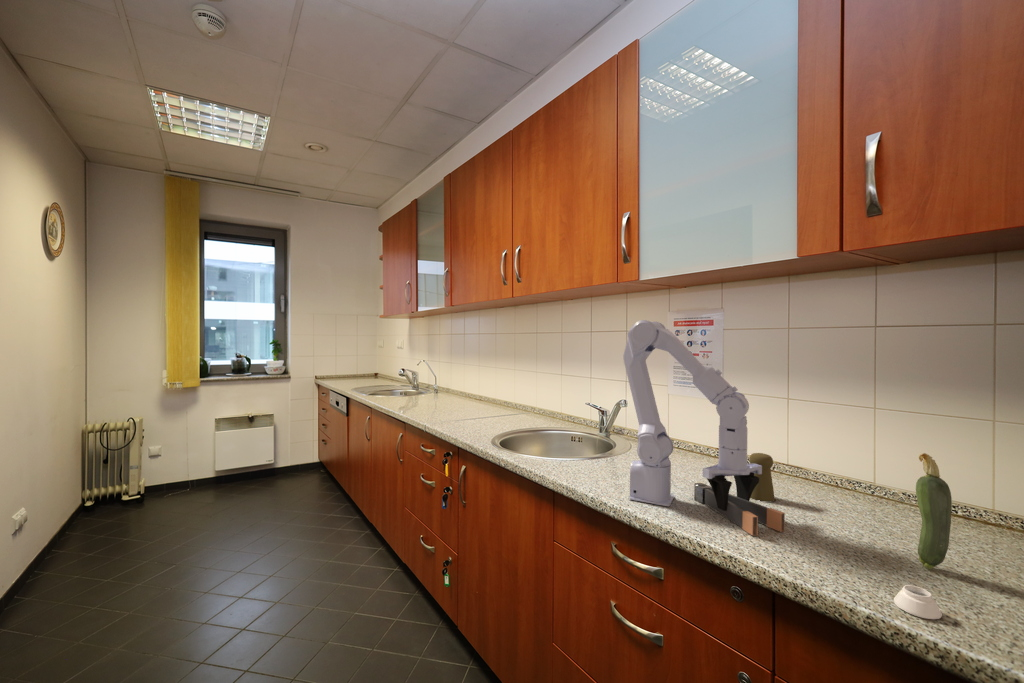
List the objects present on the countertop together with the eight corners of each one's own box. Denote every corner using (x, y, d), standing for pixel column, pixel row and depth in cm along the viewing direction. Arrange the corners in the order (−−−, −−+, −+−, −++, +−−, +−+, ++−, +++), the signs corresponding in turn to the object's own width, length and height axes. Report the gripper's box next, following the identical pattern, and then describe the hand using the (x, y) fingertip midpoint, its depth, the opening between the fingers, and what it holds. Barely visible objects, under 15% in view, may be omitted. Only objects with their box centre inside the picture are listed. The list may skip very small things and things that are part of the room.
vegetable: (949, 570, 74) (950, 453, 74) (952, 580, 71) (953, 458, 71) (914, 561, 77) (915, 449, 77) (915, 570, 74) (916, 453, 74)
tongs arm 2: (710, 503, 104) (710, 488, 104) (713, 503, 104) (713, 487, 104) (780, 531, 89) (781, 513, 89) (784, 530, 89) (784, 512, 89)
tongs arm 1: (704, 504, 104) (704, 488, 104) (708, 503, 104) (708, 488, 104) (752, 535, 87) (752, 517, 87) (757, 535, 87) (757, 516, 87)
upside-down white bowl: (889, 608, 64) (935, 626, 60) (889, 587, 64) (935, 605, 60) (900, 597, 67) (945, 614, 62) (900, 578, 67) (945, 593, 62)
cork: (778, 502, 106) (779, 457, 106) (751, 500, 107) (752, 456, 107) (769, 494, 111) (769, 451, 112) (743, 492, 113) (744, 450, 113)
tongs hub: (691, 498, 108) (691, 483, 108) (701, 497, 108) (701, 482, 108) (702, 504, 104) (702, 488, 104) (712, 503, 105) (712, 487, 105)
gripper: (719, 453, 91) (718, 518, 91) (773, 449, 95) (773, 511, 95) (696, 445, 98) (695, 506, 98) (747, 442, 102) (747, 500, 102)
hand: (732, 507), depth 97 cm, fingers open, 5 cm apart
